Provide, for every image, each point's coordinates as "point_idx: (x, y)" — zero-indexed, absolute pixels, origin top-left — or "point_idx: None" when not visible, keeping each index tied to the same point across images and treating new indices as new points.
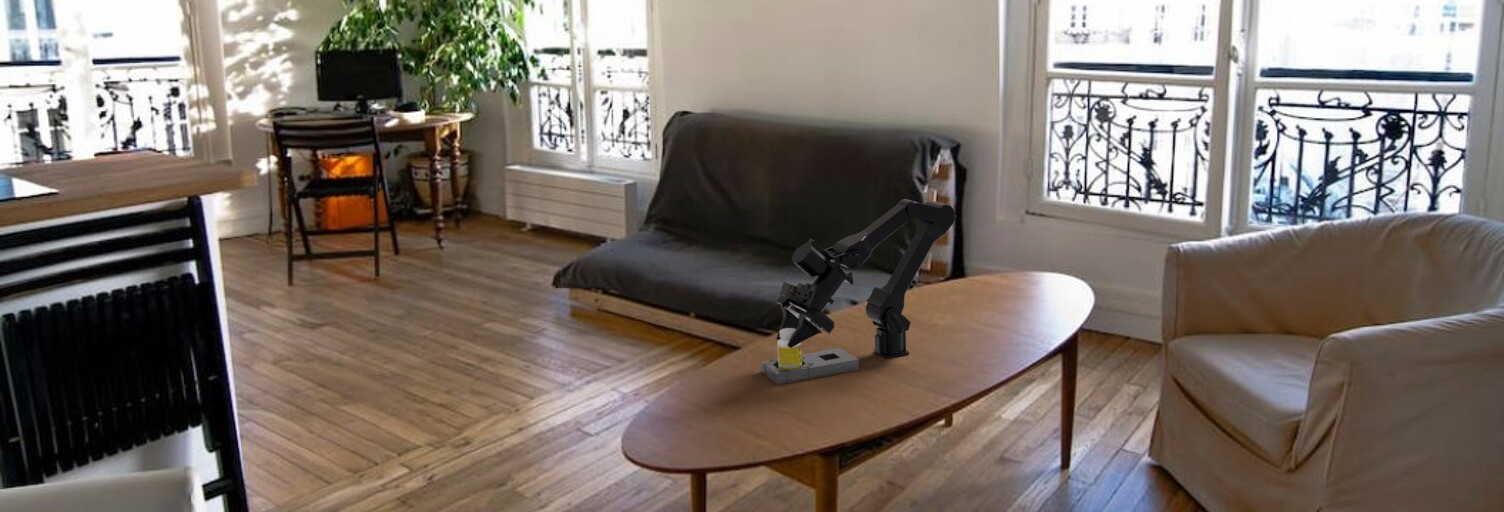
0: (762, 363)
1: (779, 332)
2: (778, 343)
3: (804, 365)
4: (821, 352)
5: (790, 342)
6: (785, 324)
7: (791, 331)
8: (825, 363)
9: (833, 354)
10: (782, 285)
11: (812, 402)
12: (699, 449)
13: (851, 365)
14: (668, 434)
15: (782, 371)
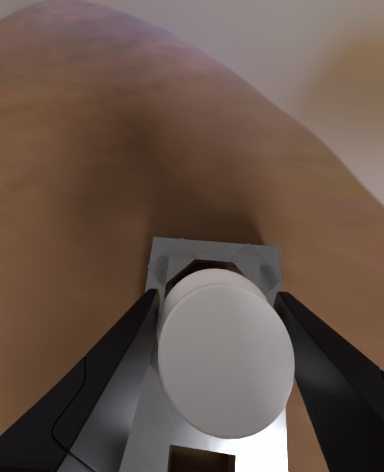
0: (265, 246)
1: (306, 319)
2: (218, 270)
3: None
4: None
5: (137, 301)
6: (354, 406)
7: (185, 362)
8: (140, 425)
9: None
10: None
11: (13, 254)
12: (2, 47)
13: None
14: (76, 32)
15: (161, 258)
